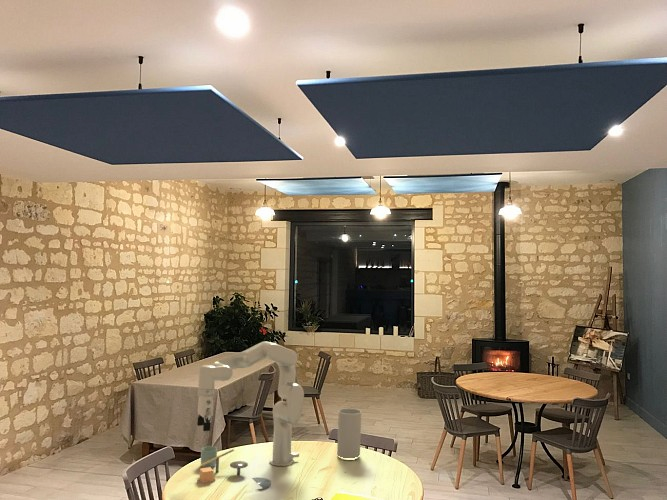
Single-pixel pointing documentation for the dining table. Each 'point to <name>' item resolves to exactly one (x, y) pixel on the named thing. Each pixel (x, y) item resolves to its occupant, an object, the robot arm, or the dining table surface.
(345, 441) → the cylinder vase
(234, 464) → the balance
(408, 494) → the dining table surface
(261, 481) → the dish
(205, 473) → the block
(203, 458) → the cup
